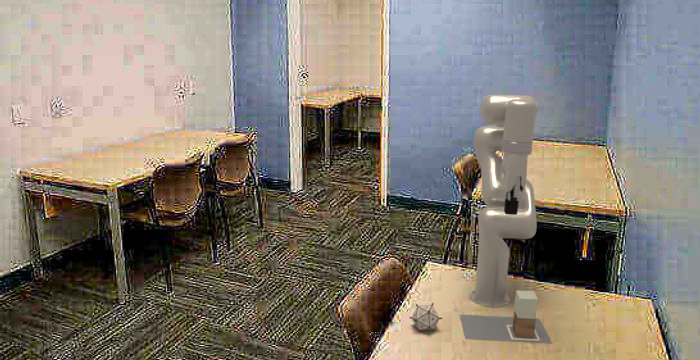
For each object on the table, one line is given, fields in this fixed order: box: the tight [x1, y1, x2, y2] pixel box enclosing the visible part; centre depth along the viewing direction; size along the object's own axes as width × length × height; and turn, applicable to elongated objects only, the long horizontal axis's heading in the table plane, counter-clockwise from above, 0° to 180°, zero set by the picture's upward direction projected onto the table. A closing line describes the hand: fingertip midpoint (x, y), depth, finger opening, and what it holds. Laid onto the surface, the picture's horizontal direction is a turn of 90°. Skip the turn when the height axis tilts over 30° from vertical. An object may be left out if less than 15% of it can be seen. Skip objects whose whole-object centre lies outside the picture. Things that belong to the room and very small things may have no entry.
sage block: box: [513, 290, 539, 319], centre depth 163 cm, size 5×5×6 cm
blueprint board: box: [459, 314, 553, 345], centre depth 168 cm, size 14×24×1 cm, turn 86°
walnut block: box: [512, 310, 536, 338], centre depth 165 cm, size 5×5×6 cm
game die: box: [408, 302, 443, 332], centre depth 166 cm, size 9×8×10 cm
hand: (510, 213), depth 155 cm, fingers closed
